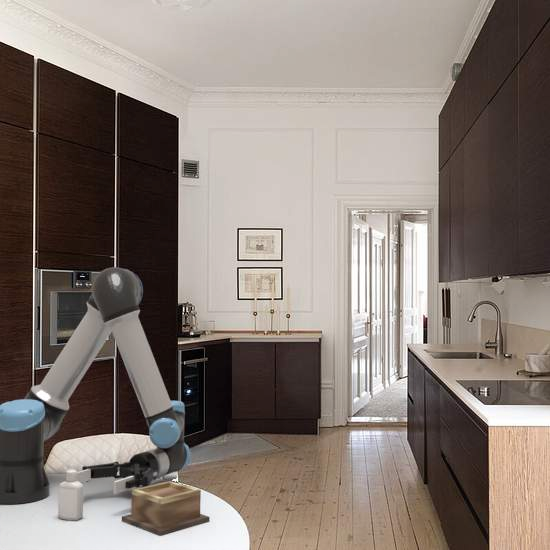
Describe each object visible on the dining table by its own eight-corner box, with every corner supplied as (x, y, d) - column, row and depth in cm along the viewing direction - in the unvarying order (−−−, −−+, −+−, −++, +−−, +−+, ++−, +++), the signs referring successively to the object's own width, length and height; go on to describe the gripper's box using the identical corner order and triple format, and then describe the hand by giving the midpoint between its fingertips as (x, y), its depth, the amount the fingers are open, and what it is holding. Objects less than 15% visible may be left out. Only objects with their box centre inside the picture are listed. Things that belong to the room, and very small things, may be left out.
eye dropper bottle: (66, 523, 155) (67, 468, 156) (56, 516, 159) (57, 464, 160) (84, 519, 158) (86, 465, 158) (74, 513, 162) (75, 461, 163)
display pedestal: (121, 521, 157) (122, 489, 157) (170, 508, 167) (171, 478, 168) (159, 535, 147) (160, 502, 148) (209, 521, 158) (210, 490, 158)
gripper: (187, 486, 177) (133, 507, 158) (110, 474, 188) (52, 492, 169) (187, 456, 177) (134, 474, 158) (111, 446, 189) (53, 461, 170)
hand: (92, 484), depth 164 cm, fingers open, 13 cm apart
